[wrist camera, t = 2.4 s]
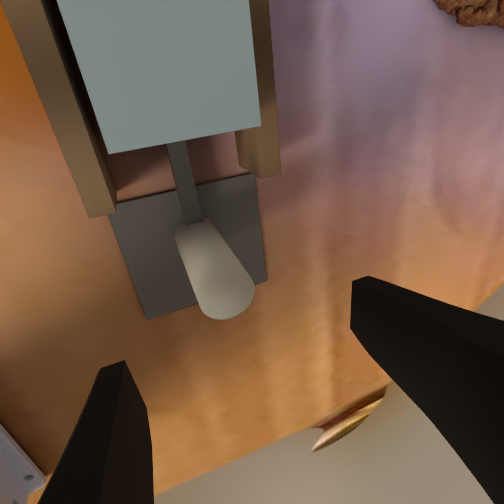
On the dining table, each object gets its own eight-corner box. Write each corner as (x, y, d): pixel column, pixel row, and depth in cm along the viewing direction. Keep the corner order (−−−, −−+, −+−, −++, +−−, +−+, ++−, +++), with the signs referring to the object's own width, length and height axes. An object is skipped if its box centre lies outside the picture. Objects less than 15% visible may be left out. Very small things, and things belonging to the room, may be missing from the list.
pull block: (242, 240, 18) (289, 298, 13) (153, 265, 17) (168, 339, 12) (201, -21, 12) (258, -98, 7) (63, -13, 11) (17, -100, 6)
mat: (265, 279, 20) (267, 280, 20) (146, 317, 18) (146, 319, 18) (253, 172, 17) (254, 172, 17) (104, 205, 15) (104, 206, 15)
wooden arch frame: (257, 161, 17) (281, 174, 14) (94, 197, 15) (89, 218, 12) (229, -84, 12) (258, -129, 10) (-13, -83, 10) (-57, -141, 8)
